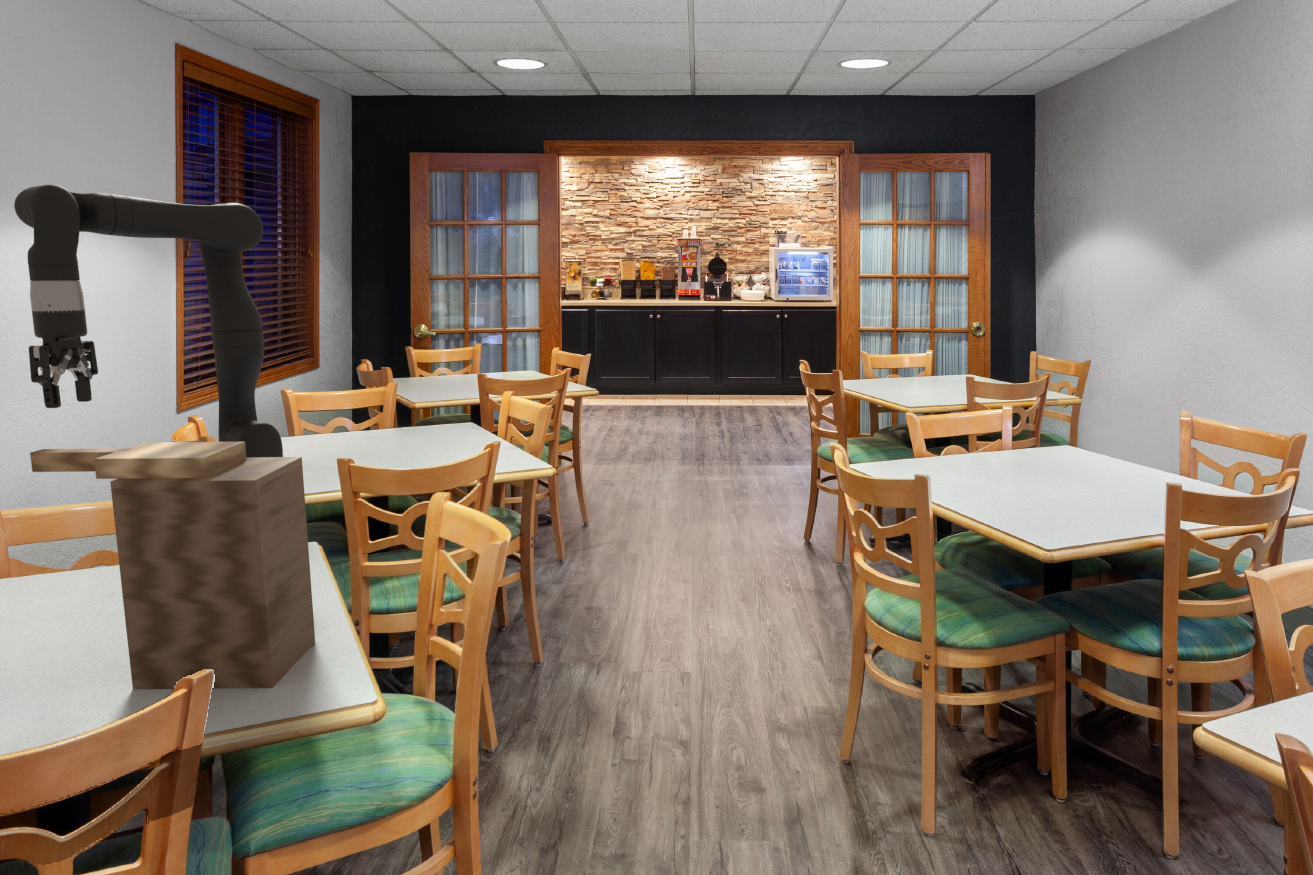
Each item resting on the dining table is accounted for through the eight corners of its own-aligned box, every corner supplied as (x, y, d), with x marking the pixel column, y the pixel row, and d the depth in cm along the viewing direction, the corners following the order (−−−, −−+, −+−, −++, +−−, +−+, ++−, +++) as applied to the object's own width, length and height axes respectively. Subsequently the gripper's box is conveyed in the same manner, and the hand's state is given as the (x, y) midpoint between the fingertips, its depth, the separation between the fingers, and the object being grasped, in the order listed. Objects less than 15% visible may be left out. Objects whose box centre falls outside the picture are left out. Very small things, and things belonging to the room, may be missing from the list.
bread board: (246, 459, 149) (244, 441, 149) (205, 477, 136) (203, 457, 135) (67, 461, 149) (65, 443, 149) (7, 479, 135) (5, 459, 135)
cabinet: (315, 641, 157) (301, 457, 151) (272, 687, 139) (255, 480, 134) (191, 642, 157) (173, 458, 151) (132, 689, 139) (110, 481, 133)
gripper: (53, 309, 147) (65, 410, 150) (105, 307, 161) (115, 399, 164) (6, 310, 147) (19, 410, 150) (62, 307, 161) (73, 399, 164)
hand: (69, 404), depth 157 cm, fingers open, 8 cm apart
